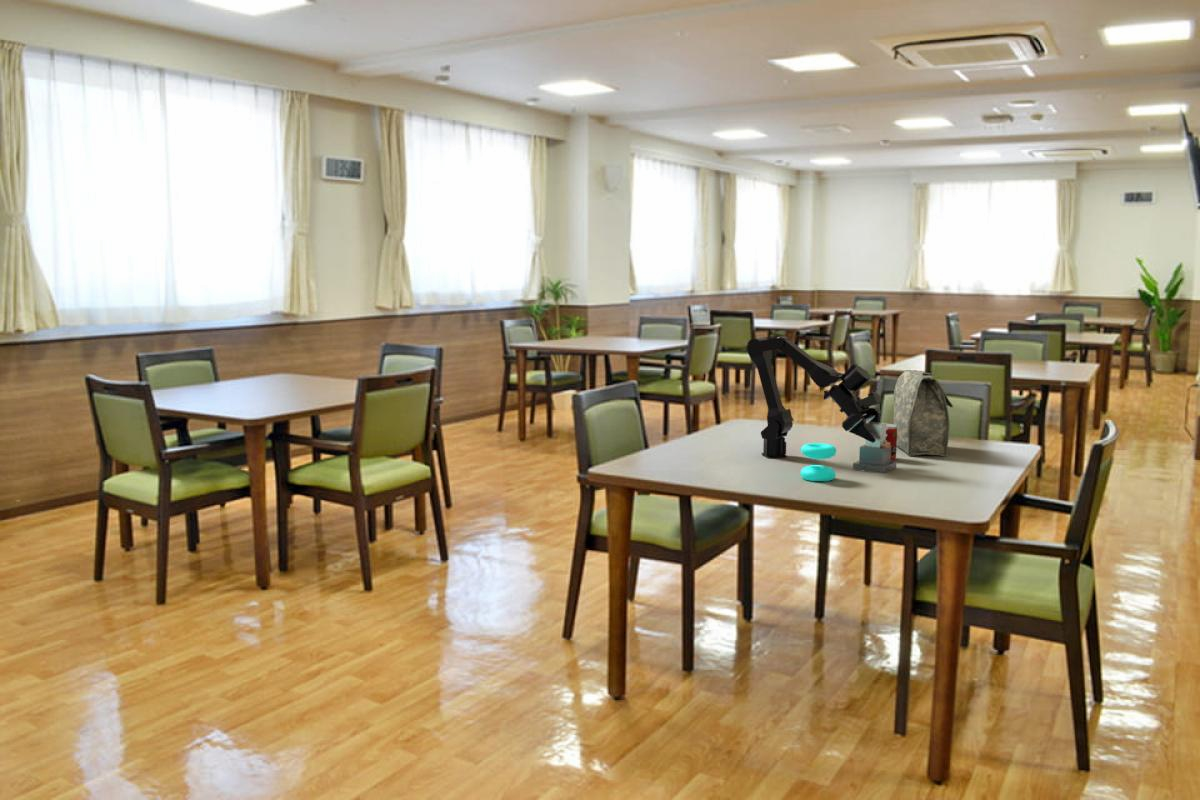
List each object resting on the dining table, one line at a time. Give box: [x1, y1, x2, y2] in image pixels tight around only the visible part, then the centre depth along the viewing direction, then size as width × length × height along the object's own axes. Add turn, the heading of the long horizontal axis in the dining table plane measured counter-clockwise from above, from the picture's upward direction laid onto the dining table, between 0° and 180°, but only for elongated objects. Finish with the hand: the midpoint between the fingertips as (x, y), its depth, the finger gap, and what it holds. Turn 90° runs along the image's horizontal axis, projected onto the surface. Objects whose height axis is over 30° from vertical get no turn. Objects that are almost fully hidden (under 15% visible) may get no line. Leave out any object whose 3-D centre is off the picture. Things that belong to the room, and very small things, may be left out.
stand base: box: [852, 442, 898, 474], centre depth 297 cm, size 10×10×8 cm
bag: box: [892, 369, 954, 457], centre depth 326 cm, size 22×16×27 cm
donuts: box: [800, 442, 837, 482], centre depth 283 cm, size 10×10×10 cm
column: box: [865, 421, 887, 448], centre depth 297 cm, size 5×4×12 cm
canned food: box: [886, 423, 898, 461], centre depth 313 cm, size 8×8×11 cm
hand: (880, 439), depth 296 cm, fingers open, 9 cm apart
